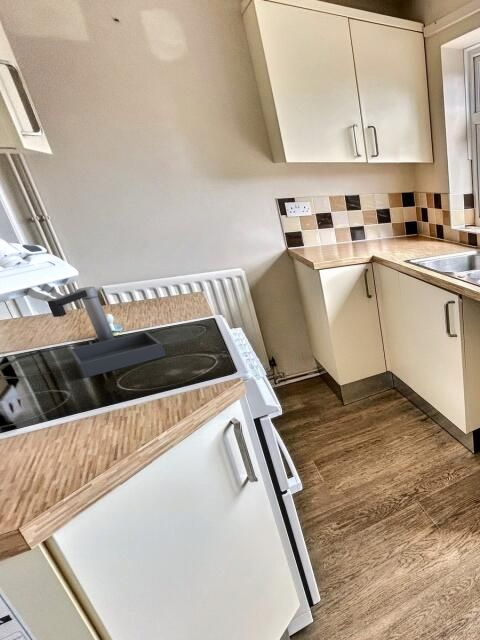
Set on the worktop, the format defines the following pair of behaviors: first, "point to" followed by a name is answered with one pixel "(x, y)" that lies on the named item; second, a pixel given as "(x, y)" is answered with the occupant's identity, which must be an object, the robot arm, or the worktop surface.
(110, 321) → the pacifier
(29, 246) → the robot arm
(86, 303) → the faucet column
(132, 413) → the worktop surface
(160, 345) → the sink
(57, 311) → the spout
